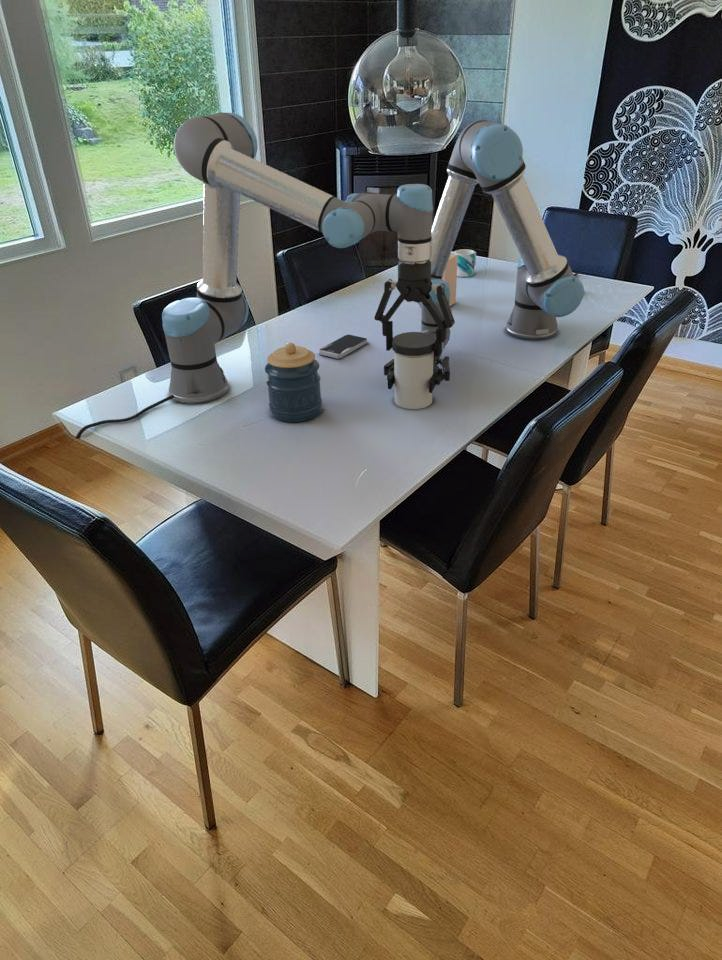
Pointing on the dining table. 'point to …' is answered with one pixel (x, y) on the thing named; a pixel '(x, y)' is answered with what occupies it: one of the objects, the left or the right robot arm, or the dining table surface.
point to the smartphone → (342, 346)
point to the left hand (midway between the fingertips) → (413, 351)
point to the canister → (293, 384)
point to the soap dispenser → (451, 277)
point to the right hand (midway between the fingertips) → (409, 385)
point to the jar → (413, 380)
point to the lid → (413, 343)
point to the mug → (465, 262)
